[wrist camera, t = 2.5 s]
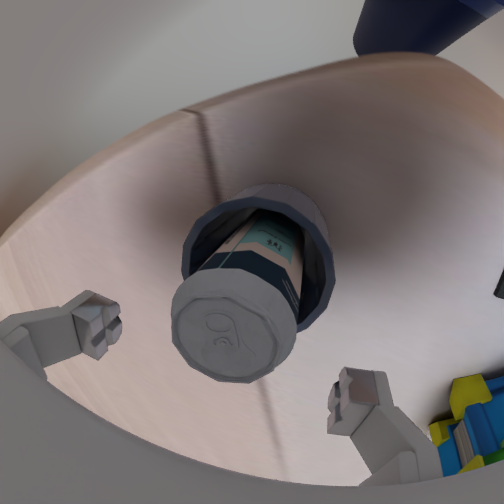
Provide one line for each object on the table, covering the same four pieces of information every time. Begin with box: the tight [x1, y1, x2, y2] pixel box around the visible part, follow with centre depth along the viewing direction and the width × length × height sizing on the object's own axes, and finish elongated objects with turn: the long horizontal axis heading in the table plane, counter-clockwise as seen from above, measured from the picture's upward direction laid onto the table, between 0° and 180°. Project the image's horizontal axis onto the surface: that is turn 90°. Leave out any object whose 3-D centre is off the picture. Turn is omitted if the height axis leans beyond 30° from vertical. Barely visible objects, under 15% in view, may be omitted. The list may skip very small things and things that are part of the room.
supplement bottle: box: [171, 209, 305, 383], centre depth 14 cm, size 5×5×12 cm
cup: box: [181, 183, 336, 333], centre depth 17 cm, size 8×8×7 cm
